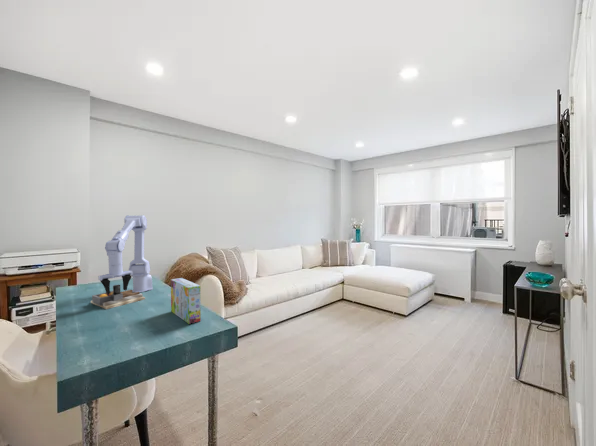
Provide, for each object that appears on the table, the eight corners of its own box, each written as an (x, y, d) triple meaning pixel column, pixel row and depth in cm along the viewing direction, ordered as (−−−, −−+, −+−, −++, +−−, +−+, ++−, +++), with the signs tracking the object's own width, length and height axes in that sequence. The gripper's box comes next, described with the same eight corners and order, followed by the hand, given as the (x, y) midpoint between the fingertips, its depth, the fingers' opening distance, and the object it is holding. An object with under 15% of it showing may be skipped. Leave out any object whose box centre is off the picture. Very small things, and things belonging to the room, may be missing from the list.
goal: (107, 298, 145) (106, 292, 145) (114, 301, 140) (114, 295, 140) (92, 302, 140) (92, 295, 140) (100, 305, 135) (99, 298, 135)
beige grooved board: (128, 293, 157) (128, 288, 157) (145, 299, 147) (144, 293, 147) (90, 302, 142) (90, 296, 142) (106, 309, 132) (106, 303, 132)
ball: (95, 300, 139) (103, 302, 142) (98, 301, 137) (106, 303, 139) (100, 292, 140) (107, 294, 143) (103, 293, 138) (111, 296, 141)
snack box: (202, 321, 116) (201, 285, 115) (188, 325, 112) (187, 287, 112) (182, 308, 132) (181, 276, 131) (170, 311, 128) (169, 279, 127)
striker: (113, 298, 145) (112, 282, 145) (123, 301, 140) (122, 284, 139) (104, 300, 142) (104, 283, 142) (114, 303, 136) (113, 286, 136)
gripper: (102, 267, 130) (103, 296, 130) (135, 262, 142) (136, 289, 142) (96, 266, 134) (97, 294, 134) (128, 261, 146) (129, 287, 146)
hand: (116, 291), depth 139 cm, fingers open, 7 cm apart
